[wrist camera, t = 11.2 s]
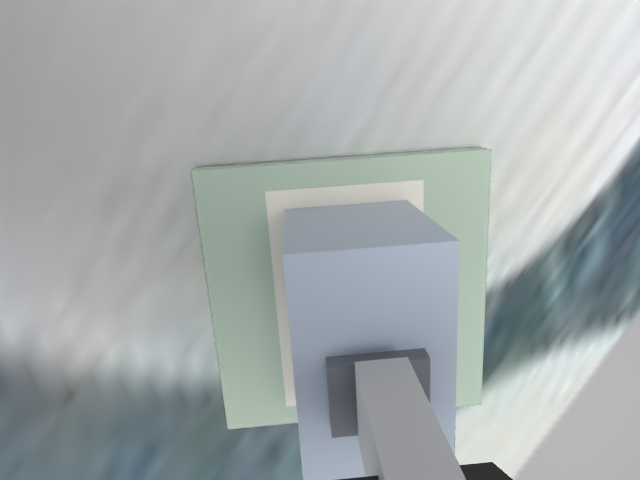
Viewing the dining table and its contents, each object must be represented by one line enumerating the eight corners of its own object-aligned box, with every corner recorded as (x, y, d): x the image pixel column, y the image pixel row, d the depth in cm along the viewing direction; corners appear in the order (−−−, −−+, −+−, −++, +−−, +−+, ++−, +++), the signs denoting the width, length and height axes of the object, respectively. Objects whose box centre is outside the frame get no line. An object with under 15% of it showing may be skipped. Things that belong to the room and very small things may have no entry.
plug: (284, 209, 18) (281, 261, 12) (406, 200, 19) (467, 247, 12) (301, 400, 21) (306, 527, 15) (409, 390, 21) (460, 511, 15)
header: (196, 167, 19) (164, 188, 14) (479, 146, 20) (544, 160, 15) (231, 412, 22) (214, 500, 17) (471, 389, 23) (521, 468, 18)
